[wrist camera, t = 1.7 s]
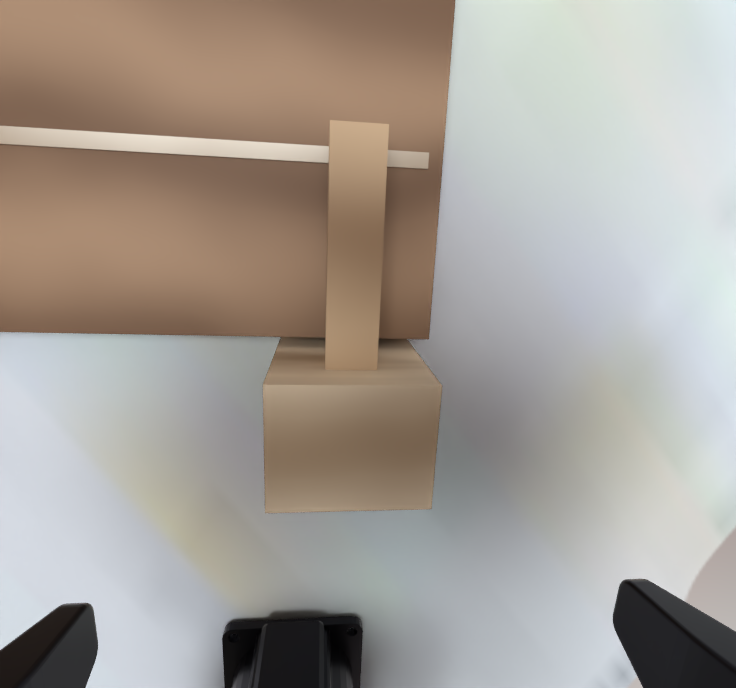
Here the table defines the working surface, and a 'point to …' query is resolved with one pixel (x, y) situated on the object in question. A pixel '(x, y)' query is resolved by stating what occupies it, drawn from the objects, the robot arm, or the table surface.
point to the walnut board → (209, 160)
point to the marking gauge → (351, 367)
